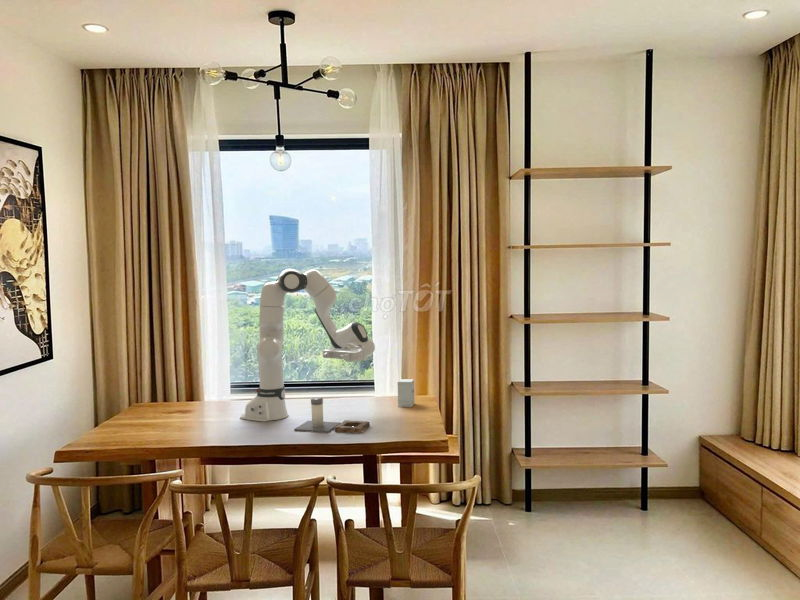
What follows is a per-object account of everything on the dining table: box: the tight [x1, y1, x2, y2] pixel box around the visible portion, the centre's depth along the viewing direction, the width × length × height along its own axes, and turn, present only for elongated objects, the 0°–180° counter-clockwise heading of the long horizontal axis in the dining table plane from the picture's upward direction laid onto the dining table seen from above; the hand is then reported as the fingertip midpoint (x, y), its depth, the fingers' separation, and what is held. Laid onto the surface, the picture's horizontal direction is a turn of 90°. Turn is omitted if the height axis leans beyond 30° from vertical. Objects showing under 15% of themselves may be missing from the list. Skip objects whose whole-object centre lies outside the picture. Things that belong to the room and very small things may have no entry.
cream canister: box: [310, 397, 324, 427], centre depth 279 cm, size 5×5×12 cm
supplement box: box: [397, 378, 415, 408], centre depth 316 cm, size 7×7×13 cm
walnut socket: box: [334, 419, 370, 434], centre depth 275 cm, size 12×12×2 cm
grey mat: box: [293, 420, 341, 434], centre depth 279 cm, size 16×14×1 cm
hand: (332, 356), depth 286 cm, fingers open, 8 cm apart
